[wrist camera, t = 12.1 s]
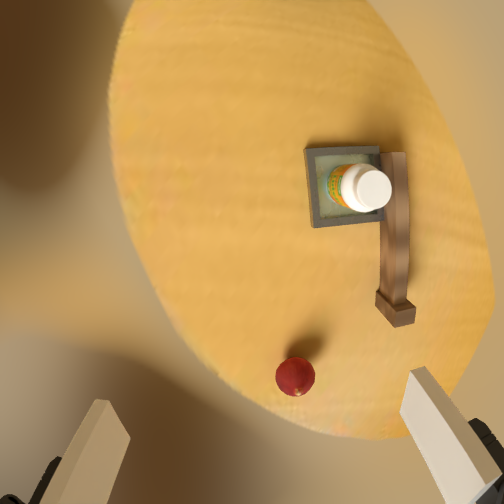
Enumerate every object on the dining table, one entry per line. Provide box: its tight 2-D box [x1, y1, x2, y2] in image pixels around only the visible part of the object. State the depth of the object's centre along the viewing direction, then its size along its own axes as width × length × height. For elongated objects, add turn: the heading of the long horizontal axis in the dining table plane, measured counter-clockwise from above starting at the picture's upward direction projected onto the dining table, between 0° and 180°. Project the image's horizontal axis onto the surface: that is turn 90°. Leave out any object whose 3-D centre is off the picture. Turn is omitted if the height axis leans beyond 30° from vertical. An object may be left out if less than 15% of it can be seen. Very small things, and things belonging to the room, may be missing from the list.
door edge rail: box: [375, 152, 416, 328], centre depth 34 cm, size 22×3×7 cm, turn 7°
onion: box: [276, 357, 315, 396], centre depth 39 cm, size 6×6×8 cm
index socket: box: [304, 146, 384, 228], centre depth 35 cm, size 10×10×2 cm
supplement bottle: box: [326, 164, 392, 212], centre depth 31 cm, size 5×5×10 cm
